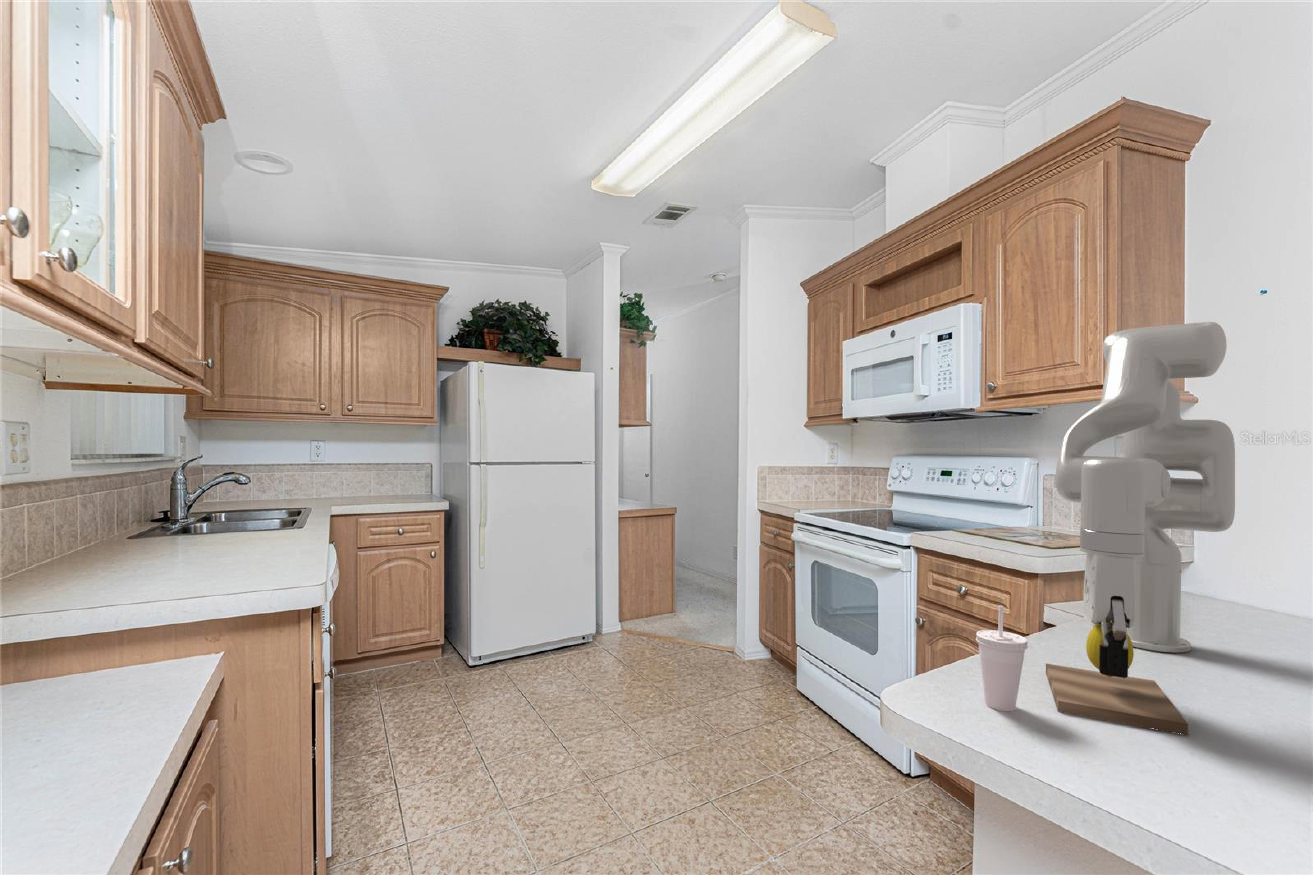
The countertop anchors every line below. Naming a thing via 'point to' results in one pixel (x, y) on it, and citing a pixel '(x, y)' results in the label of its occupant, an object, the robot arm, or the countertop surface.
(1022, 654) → the smoothie
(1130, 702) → the cutting board
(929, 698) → the countertop surface
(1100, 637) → the lemon
